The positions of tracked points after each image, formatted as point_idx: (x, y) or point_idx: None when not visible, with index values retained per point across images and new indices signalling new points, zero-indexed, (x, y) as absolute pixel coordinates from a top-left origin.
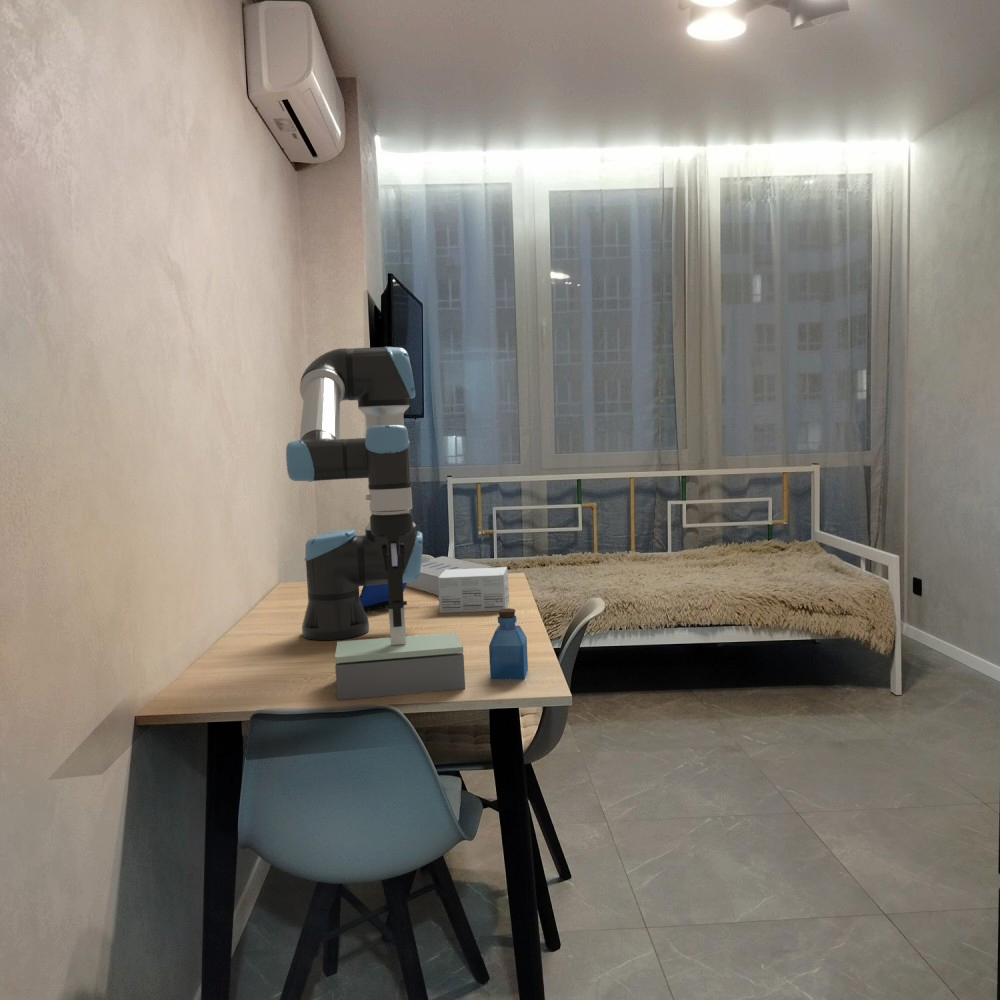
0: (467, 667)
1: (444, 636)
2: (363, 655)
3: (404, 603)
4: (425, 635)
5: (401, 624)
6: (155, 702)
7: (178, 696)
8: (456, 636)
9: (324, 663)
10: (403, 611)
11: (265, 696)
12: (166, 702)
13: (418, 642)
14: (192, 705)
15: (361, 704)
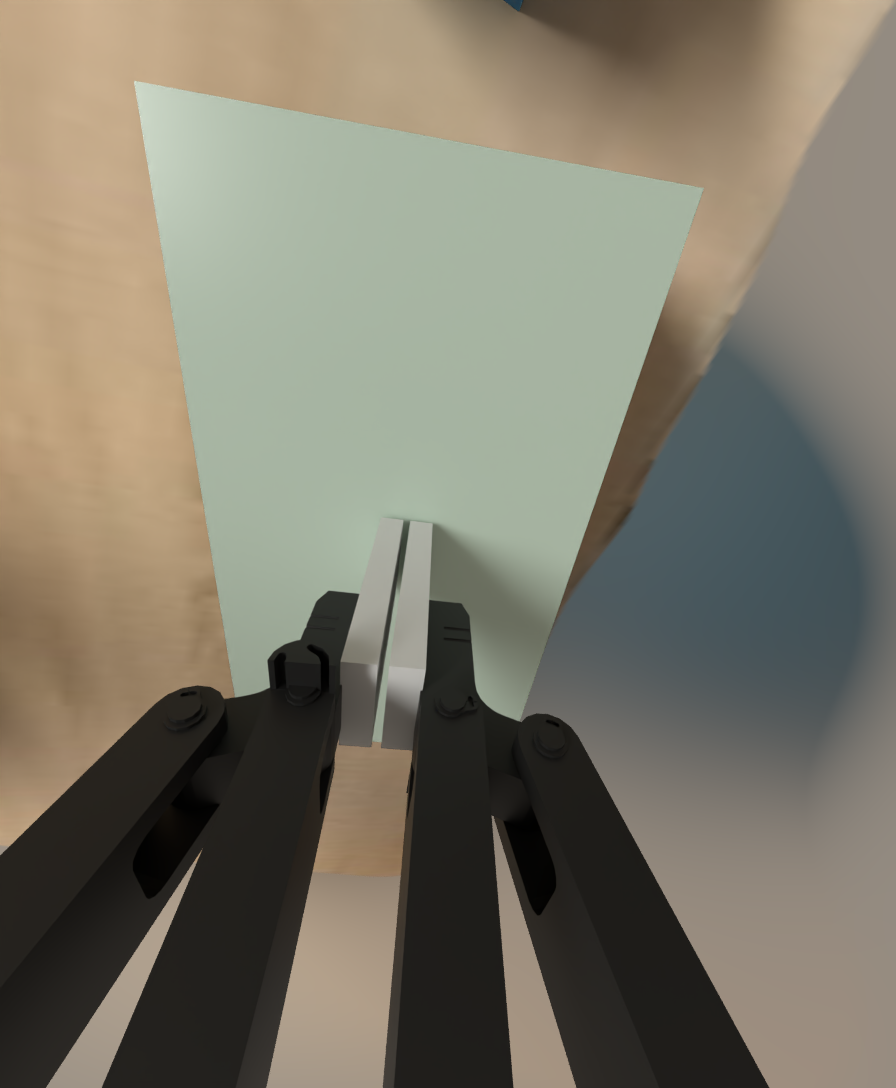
0: (229, 87)
1: (280, 237)
2: (531, 685)
3: (334, 672)
4: (207, 367)
5: (466, 613)
6: (349, 870)
7: (323, 853)
8: (312, 127)
9: (85, 649)
10: (426, 651)
11: (384, 758)
12: (356, 861)
13: (399, 450)
14: (393, 837)
15: (562, 602)
